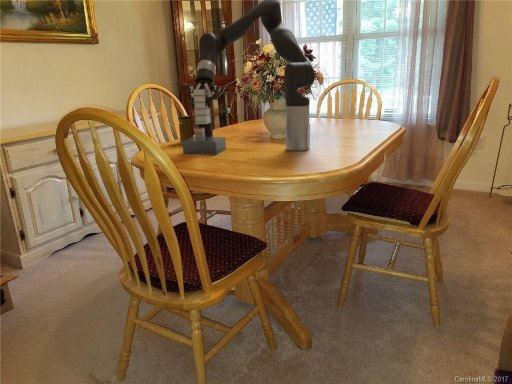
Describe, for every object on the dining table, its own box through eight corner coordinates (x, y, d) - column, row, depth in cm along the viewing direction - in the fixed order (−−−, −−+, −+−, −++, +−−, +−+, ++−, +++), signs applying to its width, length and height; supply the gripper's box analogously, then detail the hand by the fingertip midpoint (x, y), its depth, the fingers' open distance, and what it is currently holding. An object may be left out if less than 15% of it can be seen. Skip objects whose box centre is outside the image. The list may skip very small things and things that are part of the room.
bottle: (196, 141, 189) (193, 97, 184) (201, 139, 196) (198, 95, 190) (210, 141, 188) (207, 96, 182) (215, 139, 194) (212, 95, 188)
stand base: (225, 149, 169) (224, 124, 166) (216, 154, 159) (215, 128, 156) (194, 148, 173) (192, 124, 170) (183, 153, 163) (181, 128, 160)
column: (211, 122, 164) (209, 89, 161) (206, 124, 160) (204, 89, 156) (199, 122, 166) (197, 89, 162) (195, 123, 161) (192, 89, 157)
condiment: (179, 142, 190) (176, 115, 186) (197, 140, 192) (195, 114, 188) (180, 144, 183) (178, 117, 179) (199, 143, 185) (197, 116, 182)
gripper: (224, 80, 170) (220, 112, 162) (190, 81, 171) (185, 113, 163) (221, 66, 163) (217, 100, 155) (186, 68, 164) (180, 100, 157)
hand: (201, 106), depth 159 cm, fingers closed on column, 5 cm apart
